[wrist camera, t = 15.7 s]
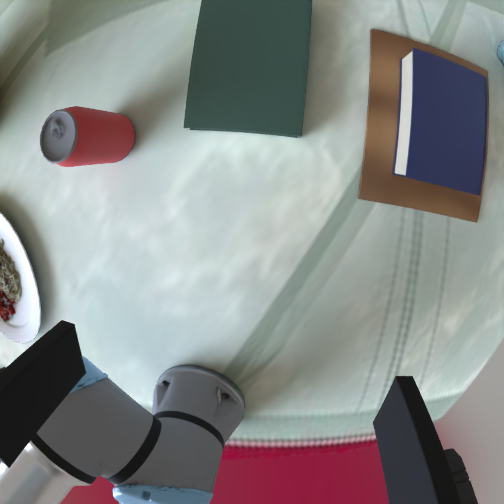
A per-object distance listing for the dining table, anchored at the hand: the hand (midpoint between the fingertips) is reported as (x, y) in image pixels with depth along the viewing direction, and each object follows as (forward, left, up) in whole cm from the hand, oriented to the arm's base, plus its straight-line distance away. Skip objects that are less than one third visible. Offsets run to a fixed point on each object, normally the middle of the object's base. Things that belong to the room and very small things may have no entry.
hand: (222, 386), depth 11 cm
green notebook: (+20, +4, -27) cm, 34 cm away
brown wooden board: (+16, -19, -27) cm, 36 cm away
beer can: (+10, +21, -27) cm, 36 cm away
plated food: (-15, +53, -27) cm, 61 cm away
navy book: (+16, -19, -26) cm, 36 cm away
